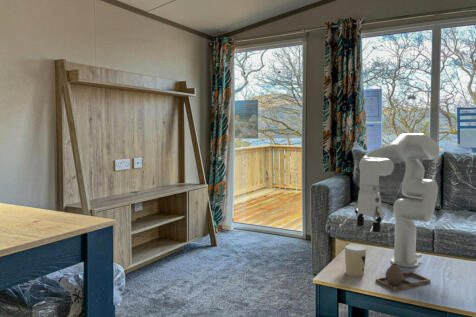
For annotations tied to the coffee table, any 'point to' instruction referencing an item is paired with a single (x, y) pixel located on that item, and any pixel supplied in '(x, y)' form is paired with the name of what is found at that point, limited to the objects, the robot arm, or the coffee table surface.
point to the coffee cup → (355, 260)
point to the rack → (408, 284)
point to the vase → (394, 275)
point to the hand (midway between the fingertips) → (368, 228)
